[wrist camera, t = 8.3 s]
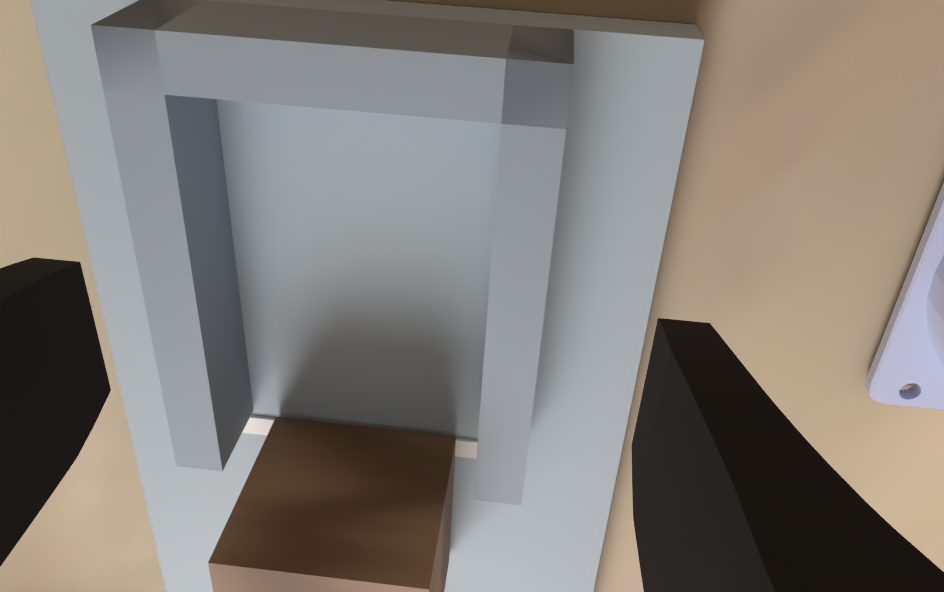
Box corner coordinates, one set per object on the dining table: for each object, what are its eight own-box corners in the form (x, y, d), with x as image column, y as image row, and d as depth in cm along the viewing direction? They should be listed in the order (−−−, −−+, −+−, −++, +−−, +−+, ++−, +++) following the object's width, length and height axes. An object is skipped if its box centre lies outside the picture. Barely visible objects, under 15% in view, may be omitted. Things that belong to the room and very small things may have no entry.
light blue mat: (697, 24, 17) (723, 76, 14) (558, 734, 32) (556, 835, 29) (57, -26, 18) (-46, 13, 15) (206, 689, 33) (169, 782, 30)
